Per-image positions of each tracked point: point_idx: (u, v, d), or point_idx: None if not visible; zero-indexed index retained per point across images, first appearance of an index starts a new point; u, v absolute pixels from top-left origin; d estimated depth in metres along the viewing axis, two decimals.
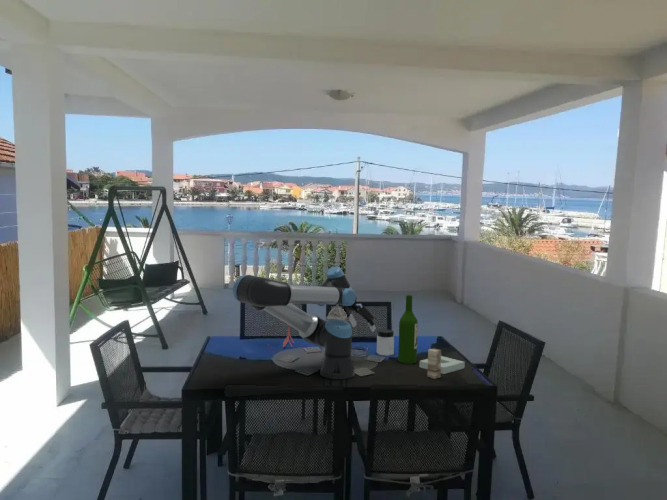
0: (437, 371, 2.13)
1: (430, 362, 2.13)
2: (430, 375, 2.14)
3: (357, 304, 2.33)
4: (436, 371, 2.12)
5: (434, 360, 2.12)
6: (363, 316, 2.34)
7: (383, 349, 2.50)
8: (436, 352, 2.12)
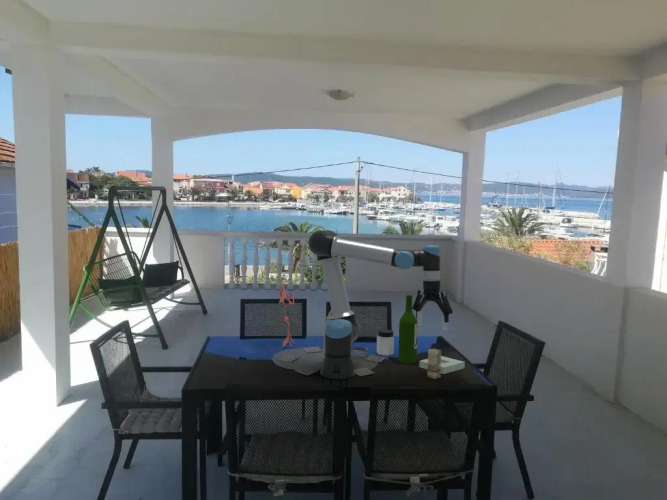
0: (437, 371, 2.13)
1: (430, 362, 2.13)
2: (430, 375, 2.14)
3: (440, 292, 2.13)
4: (436, 371, 2.12)
5: (434, 360, 2.12)
6: (441, 307, 2.11)
7: (383, 349, 2.50)
8: (436, 352, 2.12)
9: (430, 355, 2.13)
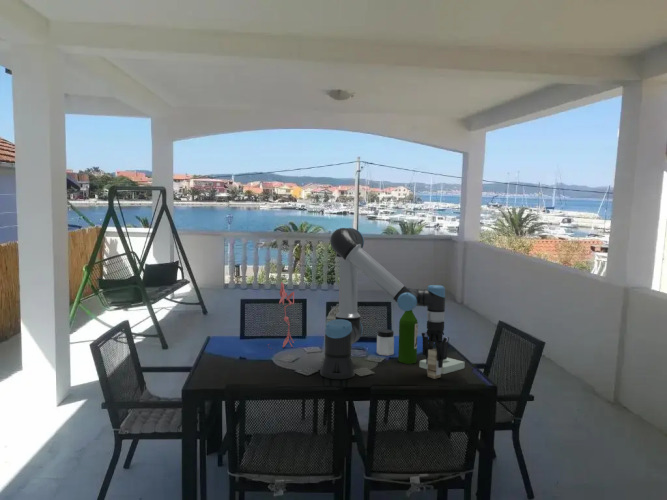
0: None
1: (430, 362, 2.13)
2: (430, 375, 2.14)
3: (443, 335, 2.10)
4: None
5: (434, 360, 2.12)
6: (438, 352, 2.11)
7: (383, 349, 2.50)
8: (436, 352, 2.12)
9: (430, 355, 2.14)
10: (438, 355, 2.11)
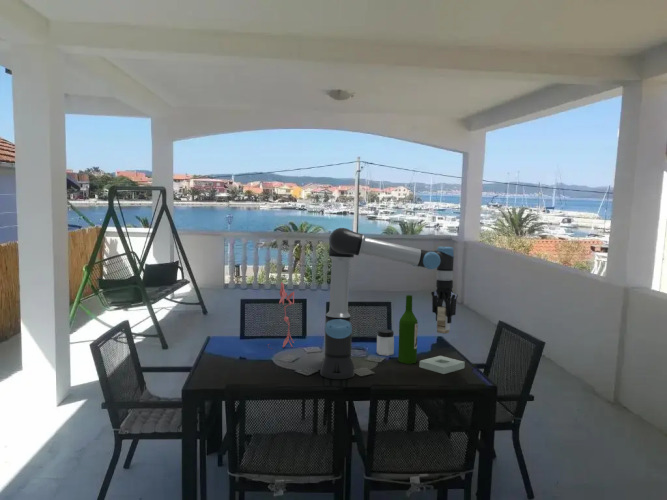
0: None
1: (440, 318, 2.28)
2: (440, 330, 2.28)
3: (452, 293, 2.25)
4: None
5: (443, 316, 2.26)
6: (447, 308, 2.25)
7: (383, 349, 2.50)
8: (445, 309, 2.26)
9: (440, 312, 2.28)
10: (447, 311, 2.26)
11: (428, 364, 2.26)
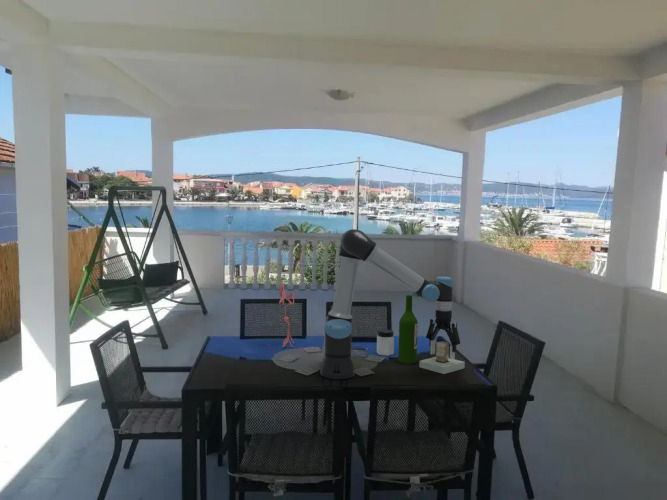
0: (445, 362, 2.28)
1: (439, 353, 2.29)
2: None
3: (451, 322, 2.25)
4: (444, 362, 2.27)
5: (442, 351, 2.27)
6: (450, 337, 2.24)
7: (383, 349, 2.50)
8: (444, 344, 2.27)
9: (438, 347, 2.29)
10: (451, 340, 2.24)
11: (428, 364, 2.26)
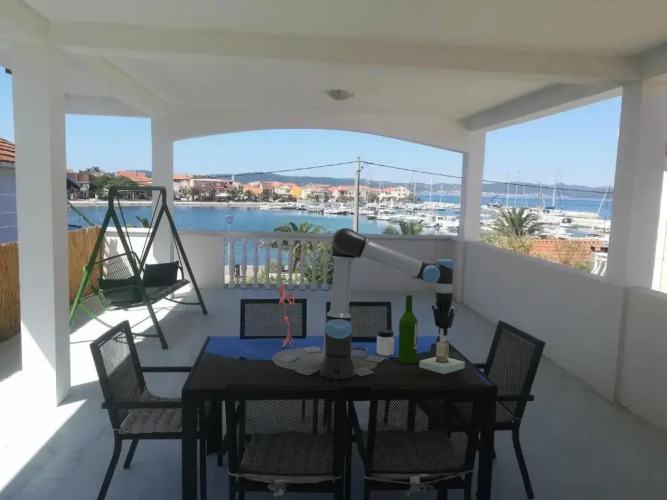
0: (445, 362, 2.28)
1: (439, 353, 2.29)
2: None
3: (452, 306, 2.25)
4: (444, 362, 2.27)
5: (442, 351, 2.27)
6: (444, 321, 2.27)
7: (383, 349, 2.50)
8: (444, 344, 2.27)
9: (438, 347, 2.29)
10: (444, 324, 2.27)
11: (428, 364, 2.26)
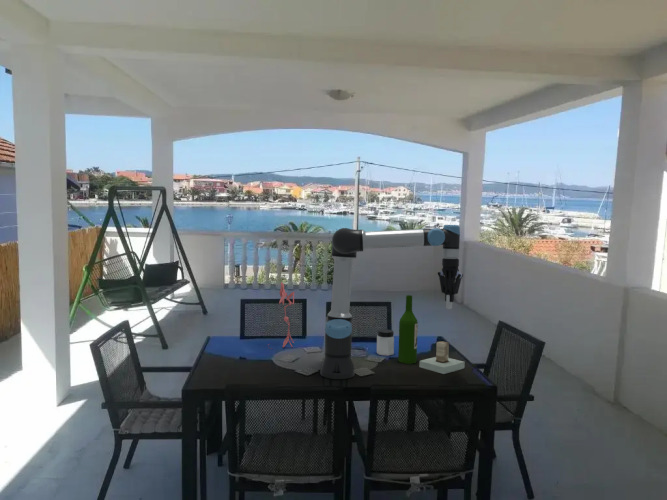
0: (445, 362, 2.28)
1: (439, 353, 2.29)
2: None
3: (458, 272, 2.22)
4: (444, 362, 2.27)
5: (442, 351, 2.27)
6: (451, 287, 2.24)
7: (383, 349, 2.50)
8: (444, 344, 2.27)
9: (438, 347, 2.29)
10: (450, 290, 2.24)
11: (428, 364, 2.26)
